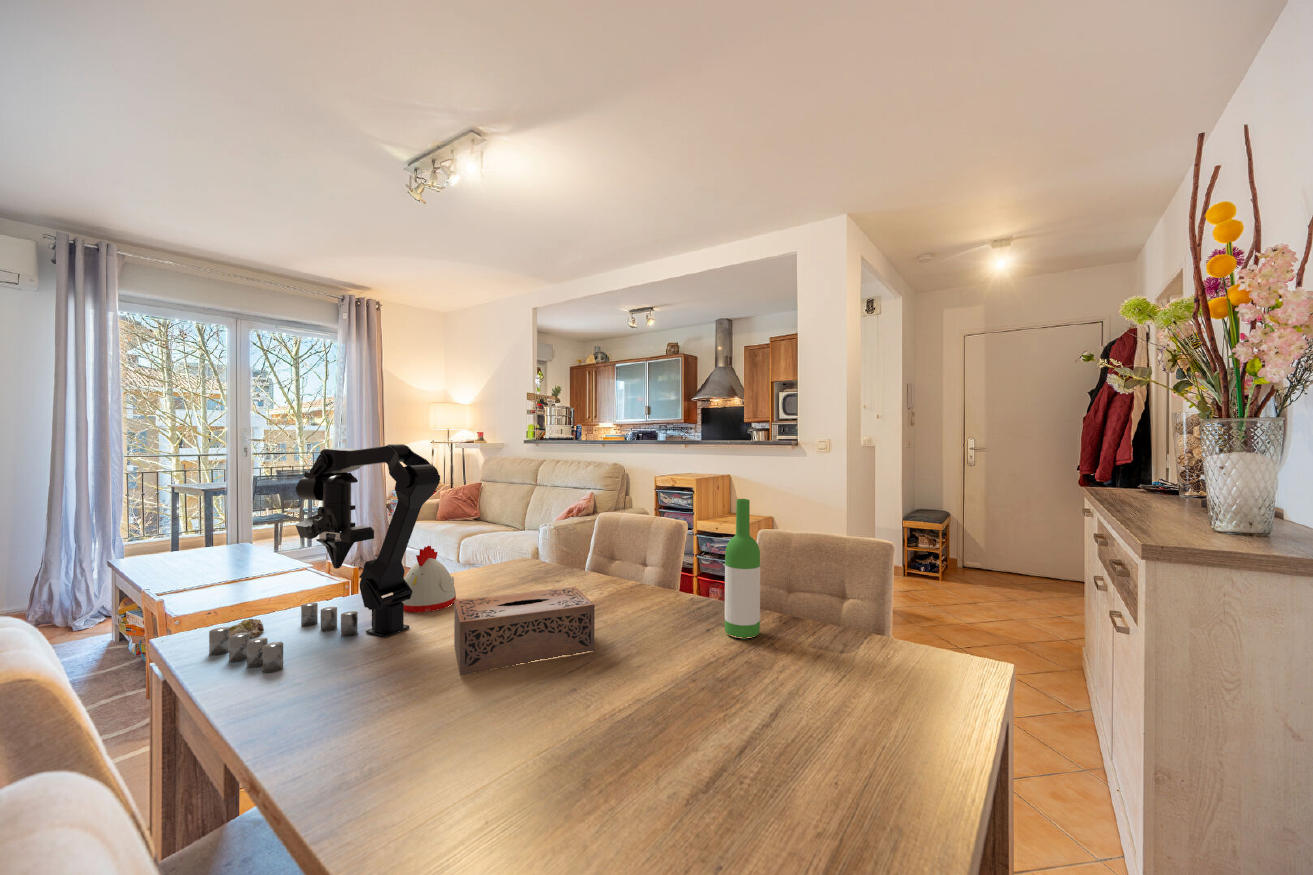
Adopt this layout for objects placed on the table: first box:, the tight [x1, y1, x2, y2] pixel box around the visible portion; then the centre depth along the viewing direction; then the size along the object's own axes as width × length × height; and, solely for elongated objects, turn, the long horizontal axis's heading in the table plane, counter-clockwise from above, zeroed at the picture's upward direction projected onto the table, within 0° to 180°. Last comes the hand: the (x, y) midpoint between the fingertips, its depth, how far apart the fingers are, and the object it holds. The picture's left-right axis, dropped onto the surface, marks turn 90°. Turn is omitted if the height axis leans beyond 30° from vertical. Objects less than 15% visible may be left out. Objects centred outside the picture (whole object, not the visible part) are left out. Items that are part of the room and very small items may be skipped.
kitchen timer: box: [402, 545, 457, 613], centre depth 141 cm, size 14×14×15 cm
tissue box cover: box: [453, 585, 596, 676], centre depth 111 cm, size 26×14×10 cm, turn 114°
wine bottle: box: [724, 498, 761, 638], centre depth 120 cm, size 8×8×30 cm
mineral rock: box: [229, 618, 265, 639], centre depth 117 cm, size 11×4×8 cm
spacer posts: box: [208, 602, 359, 674], centre depth 113 cm, size 21×21×4 cm
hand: (337, 568), depth 127 cm, fingers closed
